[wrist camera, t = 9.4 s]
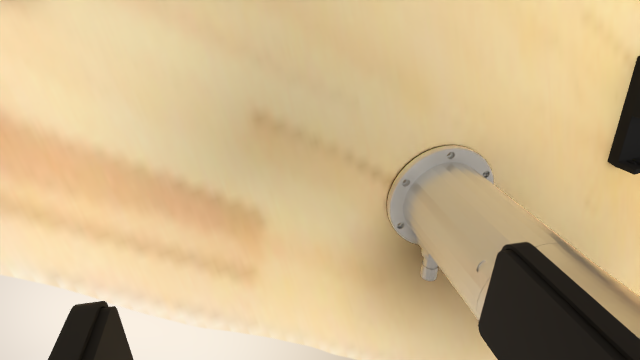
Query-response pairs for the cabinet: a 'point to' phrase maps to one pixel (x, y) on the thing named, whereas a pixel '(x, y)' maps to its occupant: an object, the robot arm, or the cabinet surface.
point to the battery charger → (628, 129)
